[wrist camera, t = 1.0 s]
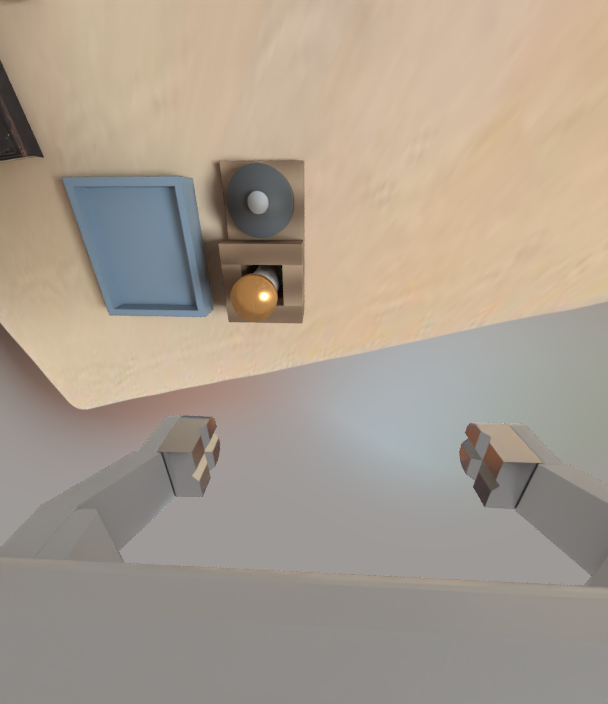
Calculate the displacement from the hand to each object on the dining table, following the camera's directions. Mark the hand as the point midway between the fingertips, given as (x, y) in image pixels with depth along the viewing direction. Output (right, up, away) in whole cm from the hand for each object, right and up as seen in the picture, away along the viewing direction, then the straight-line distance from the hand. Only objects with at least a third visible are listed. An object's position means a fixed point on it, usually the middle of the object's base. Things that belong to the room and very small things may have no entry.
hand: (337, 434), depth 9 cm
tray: (-23, +18, +32) cm, 44 cm away
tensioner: (-6, +18, +31) cm, 36 cm away
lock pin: (-6, +14, +33) cm, 37 cm away
